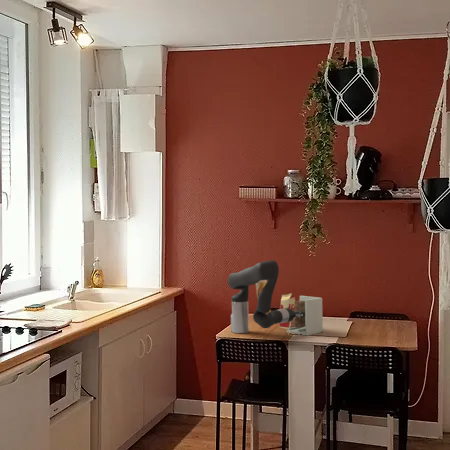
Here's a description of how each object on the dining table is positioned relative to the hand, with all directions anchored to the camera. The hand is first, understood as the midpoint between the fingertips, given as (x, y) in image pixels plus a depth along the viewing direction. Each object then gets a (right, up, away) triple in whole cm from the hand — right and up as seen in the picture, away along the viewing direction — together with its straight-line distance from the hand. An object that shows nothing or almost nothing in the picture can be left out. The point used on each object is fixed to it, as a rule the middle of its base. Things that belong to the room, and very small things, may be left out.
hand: (304, 312), depth 398 cm
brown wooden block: (-2, -8, -2) cm, 8 cm away
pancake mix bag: (-20, -10, +45) cm, 50 cm away
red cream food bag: (-8, -10, +12) cm, 17 cm away
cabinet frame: (0, -11, -4) cm, 11 cm away
